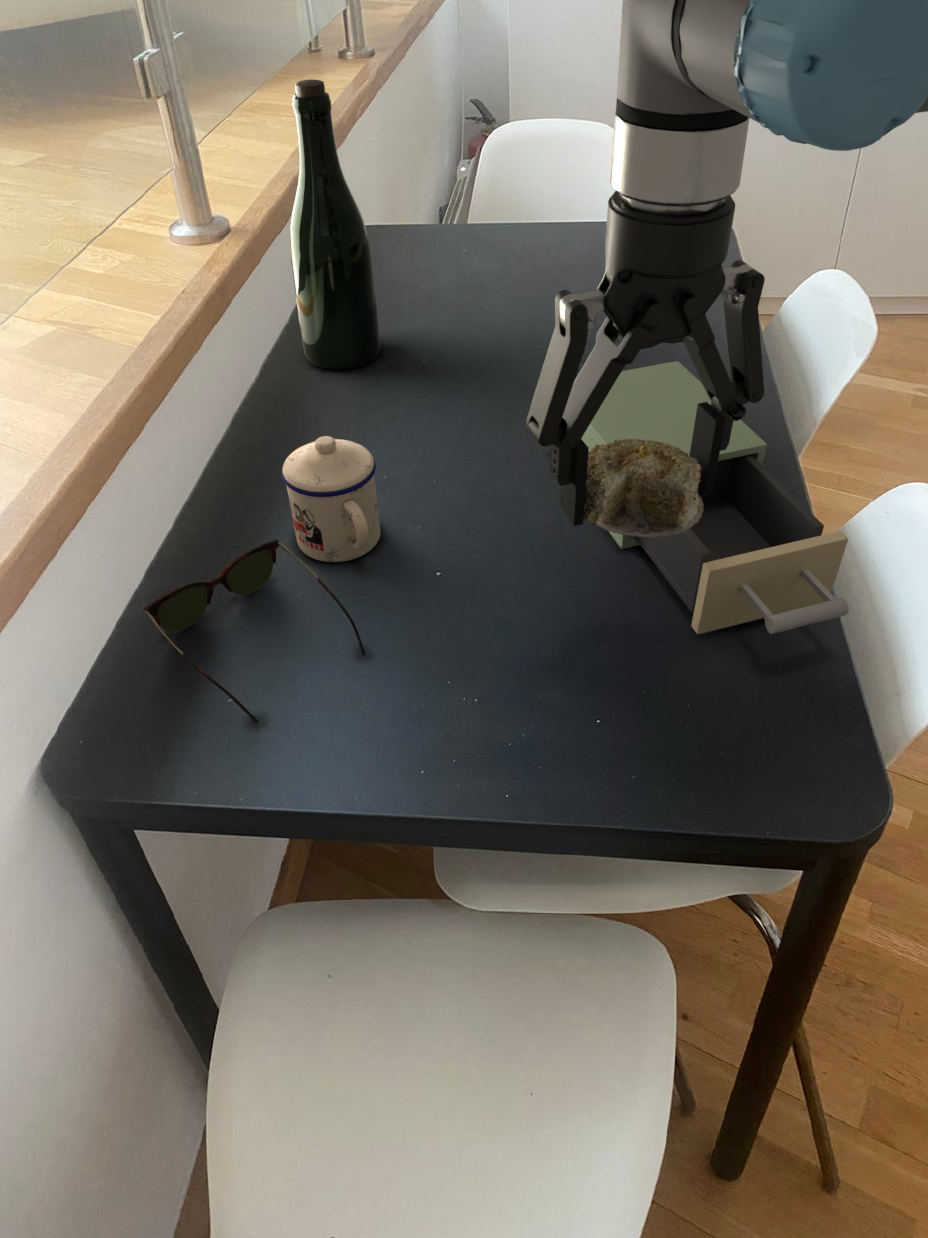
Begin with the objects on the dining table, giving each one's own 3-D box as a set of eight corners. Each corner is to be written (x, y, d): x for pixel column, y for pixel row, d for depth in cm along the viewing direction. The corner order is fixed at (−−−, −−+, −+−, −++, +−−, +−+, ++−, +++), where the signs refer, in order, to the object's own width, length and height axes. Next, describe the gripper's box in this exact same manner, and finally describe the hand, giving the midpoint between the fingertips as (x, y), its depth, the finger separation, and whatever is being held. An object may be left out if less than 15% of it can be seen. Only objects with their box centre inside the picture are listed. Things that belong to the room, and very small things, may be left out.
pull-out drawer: (867, 642, 80) (890, 578, 75) (730, 679, 78) (745, 615, 73) (731, 498, 97) (744, 437, 92) (614, 524, 94) (621, 463, 89)
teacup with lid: (282, 529, 96) (262, 432, 89) (360, 502, 100) (348, 406, 92) (327, 593, 89) (310, 493, 81) (411, 562, 92) (402, 462, 84)
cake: (559, 480, 74) (561, 417, 70) (680, 470, 74) (689, 408, 71) (585, 546, 66) (590, 480, 62) (722, 535, 66) (733, 469, 63)
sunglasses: (283, 573, 91) (277, 534, 88) (378, 656, 84) (376, 618, 80) (153, 644, 84) (141, 605, 80) (244, 742, 77) (235, 704, 73)
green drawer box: (750, 520, 95) (767, 444, 89) (621, 549, 92) (629, 472, 86) (668, 431, 109) (677, 360, 102) (552, 455, 106) (555, 382, 99)
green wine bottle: (361, 377, 121) (329, 95, 99) (291, 365, 124) (244, 89, 101) (393, 342, 128) (370, 72, 106) (326, 332, 131) (290, 67, 109)
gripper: (800, 151, 60) (741, 447, 75) (473, 198, 55) (479, 503, 70) (873, 186, 55) (793, 496, 70) (517, 241, 50) (514, 561, 65)
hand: (636, 500), depth 70 cm, fingers closed on cake, 10 cm apart
